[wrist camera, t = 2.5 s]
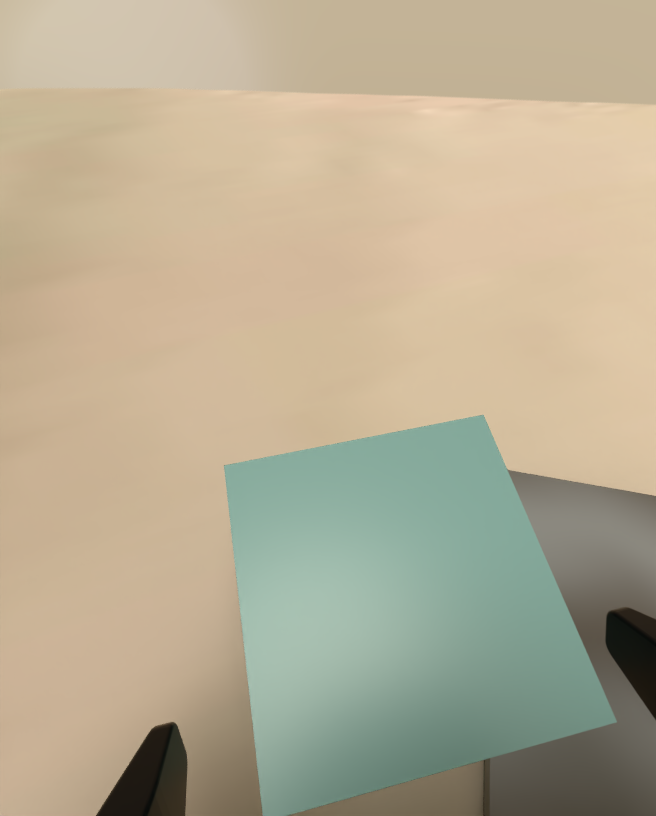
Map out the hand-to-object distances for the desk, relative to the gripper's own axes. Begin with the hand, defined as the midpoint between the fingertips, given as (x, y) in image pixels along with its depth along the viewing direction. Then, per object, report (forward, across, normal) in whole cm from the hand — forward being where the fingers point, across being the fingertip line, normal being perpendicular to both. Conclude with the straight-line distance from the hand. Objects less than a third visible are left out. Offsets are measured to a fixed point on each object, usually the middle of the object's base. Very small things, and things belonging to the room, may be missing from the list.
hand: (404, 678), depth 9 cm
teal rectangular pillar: (+8, 0, +5) cm, 9 cm away
